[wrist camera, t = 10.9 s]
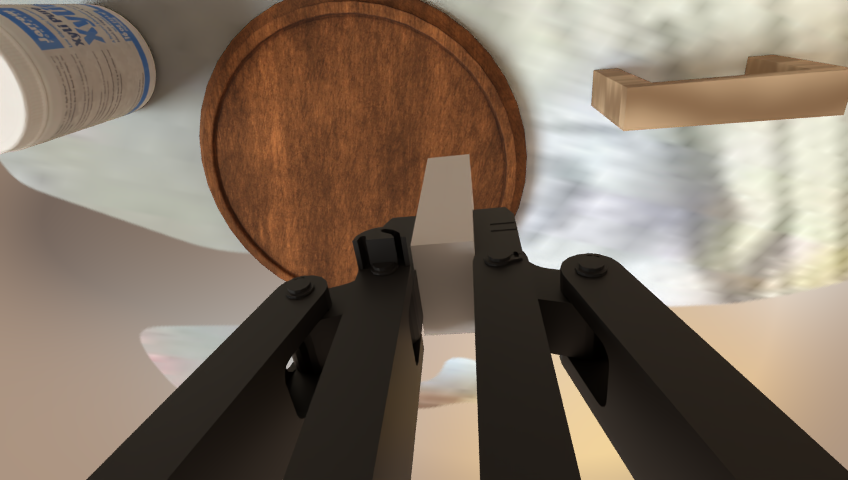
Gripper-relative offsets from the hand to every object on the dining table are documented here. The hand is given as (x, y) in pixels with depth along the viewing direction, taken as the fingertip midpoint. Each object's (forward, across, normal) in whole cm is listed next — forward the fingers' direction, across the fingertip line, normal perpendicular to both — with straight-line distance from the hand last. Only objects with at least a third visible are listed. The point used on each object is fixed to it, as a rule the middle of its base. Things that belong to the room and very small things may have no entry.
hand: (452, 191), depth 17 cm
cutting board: (+28, -10, -8) cm, 31 cm away
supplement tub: (+28, -32, +5) cm, 43 cm away
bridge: (+28, +19, -3) cm, 34 cm away
